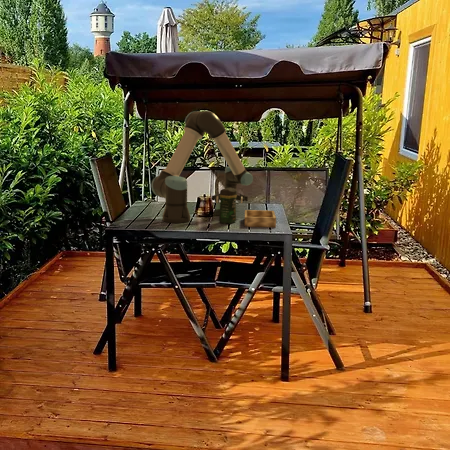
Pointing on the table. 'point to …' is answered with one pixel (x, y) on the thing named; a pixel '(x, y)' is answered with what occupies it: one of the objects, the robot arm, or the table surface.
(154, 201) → the table surface
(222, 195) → the coffee jar
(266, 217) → the pine crate
